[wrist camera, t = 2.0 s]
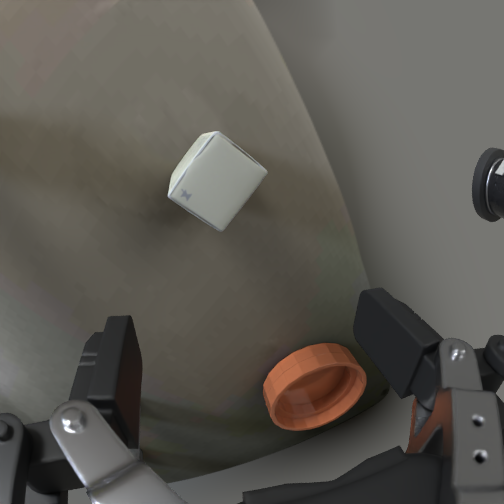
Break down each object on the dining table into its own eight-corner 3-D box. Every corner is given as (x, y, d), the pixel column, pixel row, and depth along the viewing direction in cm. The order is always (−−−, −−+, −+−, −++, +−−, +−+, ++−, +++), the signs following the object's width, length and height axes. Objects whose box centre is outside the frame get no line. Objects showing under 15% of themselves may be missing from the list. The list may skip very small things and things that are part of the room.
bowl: (359, 331, 41) (376, 352, 36) (342, 395, 46) (354, 416, 42) (262, 349, 38) (273, 375, 34) (260, 414, 44) (268, 438, 39)
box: (205, 199, 29) (219, 238, 19) (169, 174, 28) (162, 199, 18) (239, 156, 29) (271, 172, 19) (203, 129, 27) (216, 128, 17)
